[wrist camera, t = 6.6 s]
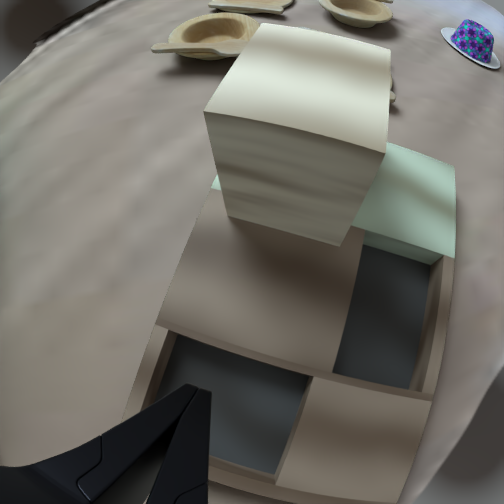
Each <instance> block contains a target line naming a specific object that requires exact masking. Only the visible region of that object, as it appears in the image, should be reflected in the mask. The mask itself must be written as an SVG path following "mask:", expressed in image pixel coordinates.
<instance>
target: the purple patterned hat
mask: <svg viewBox="0 0 504 504" xmlns="http://www.w3.org/2000/svg"><path fill="white" fill-rule="evenodd" d="M441 33H442V35H443V37H444V38H445V39H446V40H447V41H448V42H449V43H450V44H451V45H452V46H453V47H454V48H456V49H457V50H458V51H459V52H461V53H462V54H464V55H465V56H467V57H468V58H470V59H472V60H473V61H475V62H477V63H479V64H481V65H484V66H486V67H489V68H493V69H497V68H499V67H500V62H499V60H498V58H497V57H496V55H495V54H494V53H493V52H492V50H493V43H494V38H493V35H492V34H491V33H490V31H488V30H487V29H485V27H483V26H482V25H480V24H478V23H476V22H474V21H472V20H471V21H470V20H464V21H463V22H462V24H461V25H460V26H459V27H458V29H454V28H448V27H447V28H443V29H442V30H441ZM451 35H452V37H451V40H450V36H451ZM452 42H453V43H455V44H456V46H457V47H458V48H459V49H460V50H459V49H458V48H457V47H456V46H455V45H454V44H453V43H452ZM462 51H463V52H465V53H467V54H468V55H469V56H470V57H469V56H468V55H466V54H465V53H463V52H462ZM471 57H472V58H471ZM475 59H476V60H475ZM477 60H480V61H481V62H479V61H477ZM488 61H489V62H490V61H491V62H490V63H488ZM482 62H483V63H482Z"/></svg>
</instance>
